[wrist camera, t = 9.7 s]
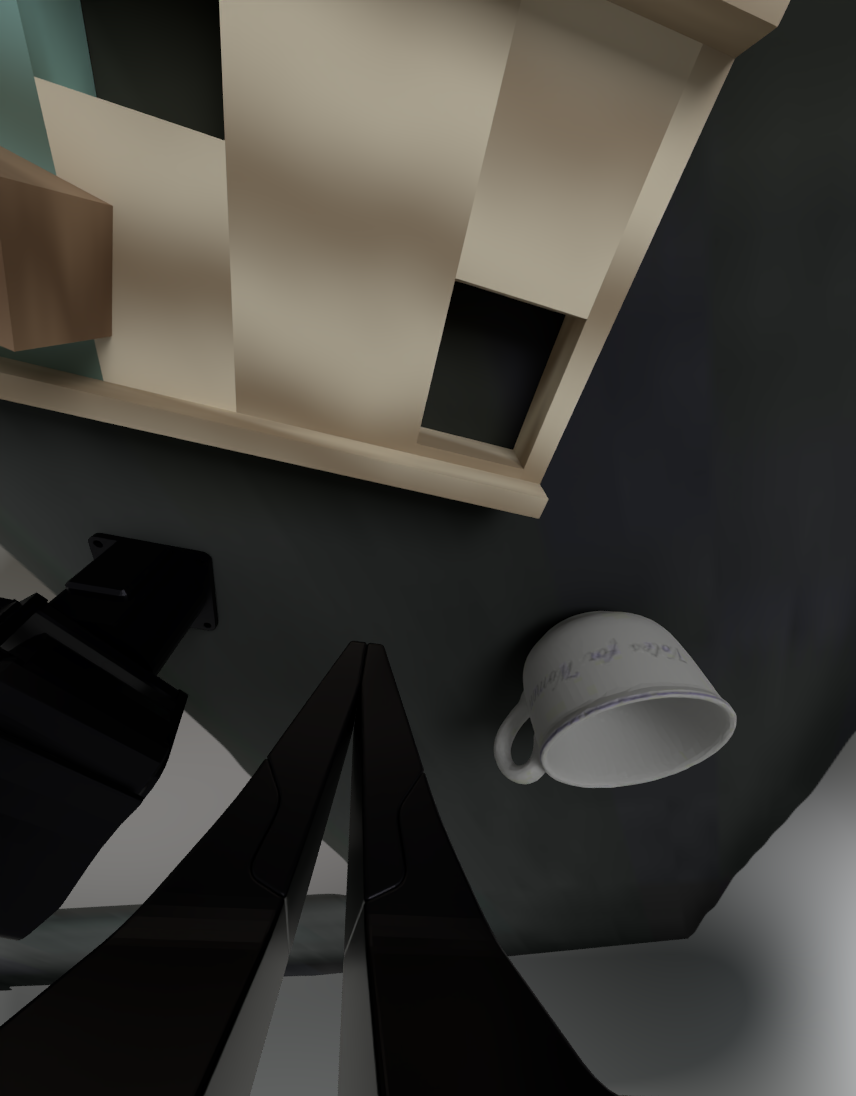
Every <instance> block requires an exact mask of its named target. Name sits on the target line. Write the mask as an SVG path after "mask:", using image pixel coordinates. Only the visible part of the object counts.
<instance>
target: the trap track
mask: <svg viewBox="0 0 856 1096" xmlns="http://www.w3.org/2000/svg"><path fill="white" fill-rule="evenodd" d="M789 2H790V0H219V10H220V34H221V58H222V82H223V106H224V129H225V141H224V140H221V139H218V138H215V137H212V136H209V135H206V134H204V133H201V132H198V131H195V130H192V129H189V128H186V127H183V126H180V125H177V124H174V123H171V122H168V121H165V120H162V119H159V118H156V117H153V116H150V115H147V114H144V113H141V112H138V111H135V110H132V109H129V108H126V107H123V106H120V105H117V104H114V103H111V102H108V101H105V100H102V99H99V98H97V97H96V91H95V85H94V79H93V73H92V68H91V62H90V56H89V50H88V44H87V38H86V32H85V26H84V21H83V15H82V9H81V3H80V0H0V146H1V147H3V148H5V149H7V150H9V151H11V152H13V153H15V154H16V155H18V156H20V157H22V158H24V159H26V160H28V161H30V162H31V163H33V164H35V165H37V166H39V167H41V168H43V169H45V170H46V171H48V172H50V173H52V174H54V175H56V176H58V177H60V178H61V179H63V180H65V181H67V182H69V183H71V184H73V185H75V186H76V187H78V188H80V189H82V190H84V191H86V192H88V193H90V194H91V195H93V196H95V197H97V198H99V199H101V200H103V201H105V202H107V203H108V204H110V205H112V206H113V261H112V336H111V337H105V338H98V339H92V340H86V341H79V342H73V343H67V344H60V345H54V346H47V347H41V348H35V349H28V350H22V351H16V352H14V351H12V350H9V349H7V348H5V347H2V346H0V399H3V400H8V401H12V402H17V403H21V404H26V405H30V406H35V407H39V408H44V409H48V410H53V411H57V412H62V413H66V414H71V415H75V416H80V417H84V418H89V419H93V420H98V421H102V422H107V423H111V424H116V425H120V426H125V427H129V428H134V429H138V430H143V431H147V432H152V433H156V434H161V435H165V436H170V437H174V438H179V439H183V440H188V441H192V442H197V443H201V444H206V445H210V446H215V447H219V448H224V449H228V450H233V451H237V452H242V453H246V454H251V455H255V456H260V457H264V458H269V459H273V460H278V461H282V462H287V463H291V464H296V465H300V466H305V467H309V468H314V469H318V470H323V471H327V472H332V473H336V474H341V475H345V476H350V477H354V478H359V479H363V480H368V481H372V482H377V483H381V484H386V485H390V486H395V487H399V488H404V489H408V490H413V491H417V492H422V493H426V494H431V495H435V496H440V497H444V498H449V499H453V500H458V501H462V502H467V503H471V504H476V505H480V506H485V507H489V508H494V509H498V510H503V511H507V512H512V513H516V514H521V515H525V516H530V517H534V518H540V516H541V513H542V511H543V509H544V507H545V505H546V503H547V501H548V498H547V496H546V494H545V492H544V491H543V489H542V487H541V486H540V482H541V480H542V478H543V476H544V474H545V471H546V469H547V467H548V465H549V463H550V461H551V458H552V456H553V454H554V452H555V450H556V447H557V445H558V443H559V441H560V439H561V436H562V434H563V432H564V430H565V428H566V426H567V423H568V421H569V419H570V417H571V415H572V412H573V410H574V408H575V406H576V404H577V402H578V399H579V397H580V395H581V393H582V391H583V388H584V386H585V384H586V382H587V380H588V378H589V375H590V373H591V371H592V369H593V367H594V364H595V362H596V360H597V358H598V356H599V354H600V351H601V349H602V347H603V345H604V343H605V340H606V338H607V336H608V334H609V332H610V330H611V327H612V325H613V323H614V321H615V319H616V316H617V314H618V312H619V310H620V308H621V306H622V303H623V301H624V299H625V297H626V295H627V292H628V290H629V288H630V286H631V284H632V282H633V279H634V277H635V275H636V273H637V271H638V268H639V266H640V264H641V262H642V260H643V258H644V255H645V253H646V251H647V249H648V247H649V244H650V242H651V240H652V238H653V236H654V233H655V231H656V229H657V227H658V225H659V223H660V220H661V218H662V216H663V214H664V212H665V209H666V207H667V205H668V203H669V201H670V199H671V196H672V194H673V192H674V190H675V188H676V185H677V183H678V181H679V179H680V177H681V175H682V172H683V170H684V168H685V166H686V164H687V161H688V159H689V157H690V155H691V153H692V151H693V148H694V146H695V144H696V142H697V140H698V137H699V135H700V133H701V131H702V129H703V127H704V124H705V122H706V120H707V118H708V116H709V113H710V111H711V109H712V107H713V105H714V103H715V100H716V98H717V96H718V94H719V92H720V89H721V87H722V85H723V83H724V81H725V79H726V76H727V74H728V72H729V70H730V68H731V65H732V63H733V61H734V59H735V58H736V57H737V56H738V55H740V54H741V53H743V52H744V51H745V50H747V49H748V48H749V47H751V46H752V45H753V44H755V43H756V42H757V41H759V40H760V39H761V38H763V37H764V36H766V35H767V34H768V33H770V32H771V31H772V30H774V29H775V28H776V27H778V25H779V23H780V21H781V18H782V16H783V14H784V12H785V10H786V8H787V6H788V4H789ZM455 281H458V282H461V283H464V284H468V285H471V286H474V287H477V288H480V289H484V290H487V291H490V292H493V293H497V294H500V295H503V296H506V297H509V298H513V299H516V300H519V301H522V302H525V303H529V304H532V305H535V306H538V307H542V308H545V309H548V310H551V311H554V312H558V313H561V314H564V315H566V316H565V318H564V321H563V323H562V326H561V329H560V331H559V334H558V336H557V339H556V341H555V344H554V346H553V349H552V352H551V354H550V357H549V359H548V362H547V364H546V367H545V369H544V372H543V375H542V377H541V380H540V382H539V385H538V387H537V390H536V392H535V395H534V398H533V400H532V403H531V405H530V408H529V410H528V413H527V415H526V418H525V421H524V423H523V426H522V428H521V431H520V433H519V436H518V438H517V441H516V444H515V446H514V449H513V450H512V449H508V448H504V447H500V446H496V445H492V444H488V443H484V442H480V441H476V440H472V439H468V438H464V437H460V436H455V435H451V434H447V433H443V432H439V431H435V430H431V429H427V428H423V427H420V426H421V422H422V417H423V413H424V409H425V405H426V400H427V396H428V392H429V388H430V384H431V379H432V375H433V371H434V367H435V362H436V358H437V354H438V350H439V346H440V341H441V337H442V333H443V329H444V324H445V320H446V316H447V312H448V308H449V303H450V299H451V295H452V291H453V286H454V282H455Z"/></svg>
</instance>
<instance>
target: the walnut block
mask: <svg viewBox="0 0 856 1096" xmlns="http://www.w3.org/2000/svg"><path fill="white" fill-rule="evenodd" d="M112 261H113V206H112V205H110V204H108V203H107V202H105V201H103V200H101V199H99V198H97V197H95V196H93V195H91V194H90V193H88V192H86V191H84V190H82V189H80V188H78V187H76V186H75V185H73V184H71V183H69V182H67V181H65V180H63V179H61V178H60V177H58V176H56V175H54V174H52V173H50V172H48V171H46V170H45V169H43V168H41V167H39V166H37V165H35V164H33V163H31V162H30V161H28V160H26V159H24V158H22V157H20V156H18V155H16V154H15V153H13V152H11V151H9V150H7V149H5V148H3V147H1V146H0V346H2V347H5V348H7V349H9V350H12V351H14V352H16V351H22V350H28V349H35V348H41V347H47V346H54V345H60V344H67V343H73V342H79V341H86V340H92V339H98V338H105V337H111V336H112Z"/></svg>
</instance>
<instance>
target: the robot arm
mask: <svg viewBox="0 0 856 1096" xmlns="http://www.w3.org/2000/svg"><path fill="white" fill-rule="evenodd" d="M88 543H89V546H90V549H91V552H92V555H93V558H94V560H93V561H92V562H91V563H90V564H88V565H87V566H86V567H85V568H84V569H82V570H81V571H80V572H79V573H78V574H76V575H75V576H74V577H73V578H71V579H70V580H69V581H68V582H67V583H66V584H65V586H66V589H65V590H63V591H62V592H61V593H60V594H59V595H57V596H56V597H55V598H54V599H53V600H51V601H50V602H49V603H47V601H48V600H47V599H46V598H44V597H43V596H41V595H40V594H38V593H35V594H33V595H31V596H29V597H27V598H26V599H24V600H22V601H20V602H18V601H17V600H15V599H13V600H11V599H5V598H0V938H6V939H11V940H16V941H17V940H21V939H23V938H24V937H26V936H27V935H29V934H30V933H31V932H32V931H33V930H35V929H36V928H37V927H38V926H39V925H40V924H42V923H43V922H44V921H45V920H46V919H47V918H49V917H50V916H51V915H52V914H53V913H54V912H55V911H57V910H58V909H59V907H61V905H62V904H63V903H64V901H65V900H66V898H67V897H68V895H69V894H70V892H71V891H72V889H73V888H74V887H75V885H76V884H77V882H78V880H79V879H80V878H81V876H82V875H83V873H84V872H85V870H86V869H87V867H88V866H89V865H90V863H91V862H92V860H93V859H94V857H95V856H96V855H97V853H98V852H99V851H100V849H101V848H102V846H103V845H104V844H105V843H106V842H107V841H108V839H109V838H110V837H111V836H112V835H113V833H114V832H115V831H116V830H117V828H118V827H119V826H120V825H121V823H123V822H124V821H125V820H126V819H127V818H128V817H129V816H130V815H131V814H132V813H133V812H134V811H135V810H136V809H137V807H139V806H140V804H141V803H142V801H143V799H144V798H145V797H146V796H147V794H148V793H149V792H150V791H151V790H152V788H153V787H154V785H155V783H156V782H157V781H158V779H159V778H160V776H161V774H162V772H163V770H164V768H165V766H166V763H167V761H168V759H169V755H170V752H171V749H172V746H173V743H174V739H175V736H176V733H177V730H178V726H179V723H180V720H181V717H182V714H183V711H184V707H185V704H186V701H187V698H188V694H186V693H185V692H183V691H182V690H177V689H175V688H174V687H172V686H171V685H169V684H168V683H166V682H165V681H163V680H162V679H160V678H159V677H157V674H158V673H159V671H160V670H161V668H162V667H163V666H164V664H165V663H166V661H167V660H168V658H169V657H170V655H171V654H172V653H173V651H174V650H175V648H176V647H177V645H178V644H179V642H180V641H181V639H182V638H183V637H184V635H185V634H186V632H187V631H188V629H189V628H196V629H203V630H214V629H215V627H216V626H217V624H218V617H217V607H216V597H215V587H214V577H213V568H212V559H211V557H210V556H209V555H208V554H207V553H205V552H201V551H196V550H190V549H185V548H179V547H174V546H169V545H163V544H158V543H152V542H147V541H141V540H136V539H130V538H125V537H119V536H114V535H108V534H103V533H96V534H94V535H93V536H91V537H90V538H89V539H88ZM200 559H201V560H203V561H204V562H203V561H201V560H200ZM366 647H367V648H366ZM365 653H366V654H365ZM364 660H365V661H364ZM363 666H364V667H363ZM362 672H363V673H362ZM361 678H362V679H361ZM359 691H360V692H359ZM358 697H359V698H358ZM357 703H358V704H357ZM356 709H357V711H356ZM355 716H356V717H355ZM354 721H355V724H354ZM353 727H354V733H353V753H352V776H351V800H350V823H349V846H348V870H347V871H348V872H347V893H346V916H345V940H344V956H345V957H344V962H343V986H342V1010H341V1032H340V1056H339V1081H338V1096H624V1095H617V1094H615V1093H614V1092H612V1091H610V1090H609V1089H608V1088H606V1087H605V1086H604V1085H603V1084H602V1083H601V1082H600V1081H599V1080H598V1079H597V1078H595V1076H594V1075H593V1074H592V1073H591V1071H590V1070H589V1069H588V1068H587V1067H586V1065H585V1064H584V1063H583V1062H582V1060H581V1059H580V1058H579V1056H578V1055H577V1053H576V1052H575V1050H574V1049H573V1048H572V1046H571V1045H570V1043H569V1042H568V1041H567V1039H566V1038H565V1036H564V1035H563V1034H562V1033H561V1031H560V1029H559V1028H558V1027H557V1025H556V1024H555V1022H554V1021H553V1019H552V1018H551V1017H550V1015H549V1014H548V1012H547V1011H546V1010H545V1008H544V1007H543V1005H542V1004H541V1003H540V1002H539V1000H538V998H537V997H536V996H535V994H534V993H533V991H532V990H531V989H530V987H529V986H528V985H527V983H526V982H525V980H524V979H523V978H522V976H521V975H520V973H519V972H518V971H517V969H516V968H515V967H514V965H513V963H512V962H511V961H510V959H509V958H508V956H507V955H506V953H505V952H504V951H503V949H502V947H501V946H500V944H499V942H498V941H497V939H496V937H495V935H494V934H493V932H492V930H491V928H490V926H489V924H488V922H487V920H486V918H485V916H484V914H483V912H482V910H481V908H480V906H479V904H478V901H477V899H476V897H475V895H474V892H473V890H472V888H471V886H470V884H469V881H468V879H467V877H466V875H465V872H464V870H463V868H462V866H461V864H460V861H459V859H458V857H457V855H456V852H455V850H454V848H453V846H452V844H451V841H450V839H449V837H448V834H447V832H446V829H445V827H444V825H443V822H442V820H441V817H440V815H439V812H438V809H437V807H436V804H435V801H434V798H433V795H432V793H431V790H430V787H429V784H428V781H427V777H426V774H425V773H423V771H424V769H423V766H422V763H421V759H420V756H419V753H418V750H417V747H416V744H415V741H414V738H413V735H412V732H411V729H410V725H409V722H408V719H407V716H406V713H405V710H404V707H403V704H402V701H401V698H400V695H399V691H398V688H397V685H396V682H395V679H394V676H393V673H392V670H391V667H390V664H389V660H388V657H387V654H386V651H385V648H384V646H383V645H381V644H375V643H369V644H366V643H365V642H359V641H351V642H350V643H349V644H348V646H347V647H346V648H345V650H344V651H343V652H342V654H341V655H340V657H339V658H338V659H337V661H336V662H335V663H334V665H333V666H332V668H331V669H330V670H329V672H328V673H327V675H326V676H325V677H324V679H323V680H322V681H321V683H320V684H319V686H318V687H317V688H316V690H315V691H314V692H313V694H312V695H311V697H310V698H309V699H308V701H307V702H306V704H305V705H304V706H303V708H302V709H301V710H300V712H299V713H298V715H297V716H296V717H295V719H294V720H293V721H292V723H291V724H290V726H289V727H288V728H287V730H286V731H285V733H284V734H283V735H282V737H281V738H280V739H279V741H278V742H277V744H276V745H275V746H274V748H273V749H272V751H271V752H270V753H269V755H268V756H267V758H268V759H265V760H264V761H263V763H262V764H261V765H260V767H259V768H258V770H257V771H256V772H255V774H254V775H253V776H252V778H251V779H250V780H249V782H248V783H247V784H246V786H245V787H244V788H243V790H242V791H241V792H240V793H239V795H238V796H237V797H236V799H235V800H234V801H233V802H232V803H231V805H230V806H229V807H228V808H227V809H226V811H225V812H224V813H223V814H222V815H221V816H220V818H219V819H218V820H217V821H216V822H215V824H214V825H213V826H212V827H211V828H210V829H209V830H208V832H207V833H206V834H205V835H204V836H203V837H202V838H201V839H200V841H199V842H198V843H197V844H196V845H195V846H194V847H193V848H192V850H191V851H190V852H189V853H188V854H187V855H186V856H185V858H184V859H183V860H182V861H181V862H180V863H179V864H178V865H177V867H176V868H175V869H174V870H173V871H172V872H171V873H170V874H169V876H168V877H167V878H166V879H165V880H164V881H163V882H162V883H161V885H160V886H159V887H158V888H157V889H156V890H155V892H154V893H153V894H152V895H151V896H150V897H149V898H148V899H147V900H146V901H145V902H144V903H143V904H142V905H141V907H140V908H139V909H138V910H137V911H136V912H135V913H134V914H133V915H132V916H131V917H130V918H129V919H128V920H127V921H126V922H125V923H124V924H123V925H122V926H121V927H119V928H118V929H117V930H116V931H115V932H114V933H113V934H112V935H111V936H110V937H109V938H107V939H106V940H105V941H104V942H103V943H102V944H100V945H99V946H98V947H97V948H95V949H94V950H93V951H92V952H91V953H89V954H88V955H87V956H86V957H84V958H83V959H82V960H81V961H80V962H78V963H77V964H76V965H75V966H73V967H72V968H71V969H70V970H69V971H67V972H66V973H65V974H64V975H62V976H61V977H60V978H59V979H58V980H56V981H55V982H54V983H53V984H51V985H50V986H49V987H48V988H47V989H45V990H44V991H43V992H42V993H40V994H39V995H38V996H37V997H36V998H34V999H33V1000H32V1001H31V1002H29V1003H28V1004H27V1005H26V1006H25V1007H23V1008H22V1009H21V1010H20V1011H18V1012H17V1013H16V1014H15V1015H14V1016H12V1017H11V1018H10V1019H9V1020H8V1021H6V1022H5V1023H4V1024H3V1025H2V1026H0V1096H249V1095H250V1092H251V1089H252V1085H253V1081H254V1078H255V1074H256V1071H257V1067H258V1063H259V1060H260V1057H261V1053H262V1050H263V1046H264V1043H265V1039H266V1036H267V1032H268V1028H269V1025H270V1021H271V1018H272V1014H273V1011H274V1007H275V1004H276V1000H277V997H278V993H279V990H280V986H281V983H282V979H283V976H284V972H285V969H286V965H287V962H288V955H289V954H290V951H291V947H292V944H293V940H294V937H295V933H296V930H297V926H298V923H299V919H300V916H301V912H302V908H303V905H304V901H305V898H306V894H307V891H308V887H309V884H310V880H311V876H312V873H313V870H314V866H315V863H316V859H317V856H318V852H319V848H320V845H321V841H322V838H323V834H324V831H325V827H326V824H327V820H328V817H329V813H330V810H331V806H332V803H333V799H334V796H335V792H336V788H337V785H338V781H339V778H340V774H341V771H342V767H343V764H344V760H345V757H346V753H347V750H348V746H349V743H350V739H351V735H352V731H353ZM625 1096H627V1095H625Z"/></svg>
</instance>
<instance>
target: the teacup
mask: <svg viewBox="0 0 856 1096" xmlns="http://www.w3.org/2000/svg"><path fill="white" fill-rule="evenodd" d="M523 687H524V691H523V692H522V695H521V698H520V701H519V703H518V704H517V705H516V706H515V707H514V708H513V709H512V711H511V712H510V713H509V714H508V716H507V717H506V718H505V720H504V721H503V723H502V724H501V726H500V728H499V730H498V732H497V734H496V737H495V741H494V756H495V760H496V763H497V765H498V767H499V769H500V770H501V772H502V773H503V774H504V775H505V776H506V777H507V778H509V779H510V780H512V781H514V782H516V783H520V784H530V783H532V782H535V781H537V780H538V779H539V778H540V777H541V776H542V775H543V774H544V773H545V772H546V773H547V774H548V775H549V776H551V777H552V778H554V779H555V780H557V781H560V782H562V783H566V784H569V785H573V786H578V787H585V788H597V787H599V788H613V787H619V786H627V785H634V784H640V783H645V782H649V781H653V780H657V779H660V778H663V777H666V776H669V775H672V774H676V773H678V772H680V771H683V770H685V769H688V768H689V767H690V766H693V765H695V764H698V763H699V762H701V761H703V760H705V759H706V758H708V757H709V756H711V755H712V754H714V753H715V752H717V751H718V750H719V749H720V748H721V747H722V746H723V745H725V744H726V742H727V741H728V740H729V739H730V737H731V736H732V734H733V732H734V729H735V727H736V714H735V712H734V710H733V709H732V707H731V706H730V705H729V704H728V703H727V702H726V701H725V700H723V699H722V698H721V697H720V696H719V694H718V693H717V692H716V690H715V689H714V687H713V686H712V685H711V683H710V682H709V681H708V679H707V678H706V677H705V675H704V674H703V673H702V671H701V670H700V669H699V667H698V666H697V665H696V663H695V662H694V661H693V659H692V658H691V657H690V656H689V654H688V653H687V652H686V651H685V649H684V648H683V647H682V646H681V645H680V643H679V642H678V641H677V640H676V639H675V638H674V637H673V636H672V635H671V634H670V633H669V632H668V631H667V630H666V629H664V628H663V627H662V626H660V625H659V624H657V623H656V622H654V621H652V620H650V619H648V618H646V617H643V616H640V615H636V614H633V613H627V612H610V611H594V612H587V613H582V614H578V615H575V616H572V617H570V618H567V619H565V620H563V621H561V622H560V623H558V624H556V625H555V626H554V627H552V628H551V629H550V630H549V631H548V632H547V633H546V634H545V635H544V636H543V637H542V638H541V639H540V640H539V641H538V642H537V643H536V644H535V646H534V647H533V648H532V650H531V651H530V653H529V655H528V657H527V659H526V662H525V665H524V670H523ZM529 717H530V719H531V722H532V726H533V729H534V732H535V734H534V747H533V752H532V754H531V757H530V759H529V760H528V761H527V762H526V763H525V764H523V765H520V766H518V765H515V764H514V762H513V760H512V758H511V745H512V742H513V740H514V738H515V735H516V733H517V732H518V730H519V729H520V728H521V726H522V725H523V723H524V722H525V721H526V720H527V719H528V718H529Z"/></svg>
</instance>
